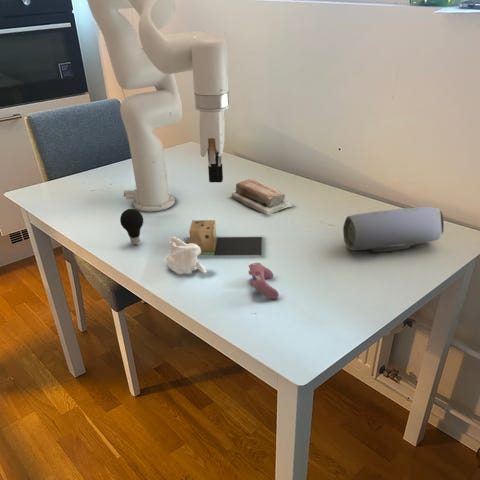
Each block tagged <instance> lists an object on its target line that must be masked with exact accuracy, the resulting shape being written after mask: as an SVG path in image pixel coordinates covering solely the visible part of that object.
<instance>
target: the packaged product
mask: <svg viewBox="0 0 480 480" xmlns="http://www.w3.org/2000/svg"><path fill="white" fill-rule="evenodd" d="M231 198H232V199H234V200H236V201H238V202H240V203H241V204H243V205H245V206H247V207H248V208H251V209H254V210H256V211H257V212H259V213H262V214H264V215H269V214H270V215H271V214H273V213H276V212H279V211H281V210H284V209H287V208H291V207H292V206H293V202H290V201H289V200H286V199H285V198H286V195H285V194H284V193H283V192H280V191H279V190H276V189H274V188H271V187H269V186H268V185H265V184H263V183H261V182H259V181H257V180H255V179H249V178H248V179H245V180H242V181H239V182H237V183H235V192H232V193H231Z"/></svg>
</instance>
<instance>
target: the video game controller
mask: <svg viewBox="0 0 480 480" xmlns="http://www.w3.org/2000/svg"><path fill="white" fill-rule="evenodd" d="M248 268H249V270H248V275H250V276H251V277H252V278H250V281H251V283H252V286H253V288H254V290H255V291H256V292H257V293H259V294H260V295H262V296H263V297H265V298H268V299H271V300H275V299H278V297H279V296H280V295H279V294H280V293H279V292H278V290H277V289H276V288H274V287H272V286H271V285H269V283H267V282H266V279H273V277H274V273H273V271H272V270H271V269H269V268H268V267H266V266H264V265H263V264H262V263H260V262H259V261H256V262H252V263H251V264H248Z"/></svg>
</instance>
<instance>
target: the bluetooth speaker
mask: <svg viewBox="0 0 480 480" xmlns="http://www.w3.org/2000/svg"><path fill="white" fill-rule="evenodd" d="M444 226H445V225H444V215H443V212H442V211H441V209H440V208H439V207H436V206H420V207H405V208H394V209H393V208H392V209H385V210H378V211H370V212H364V213H356V214H352V215H348V216H346V218H345V220H344V223H343V228H342V233H343V241H344V244H345V246H346V247H347V249H348V250H349V251H361V250H362V251H363V250H369V251H371V252H375V253H380V252H381V253H382V252H391V251H398V250H404V249H405V250H406V249H409V248H410V247H411V246H413V245H414V246H415V245H419V244H424V243H430V242H434V241H438V240H439V239H441V238H442V236H443V233H444Z"/></svg>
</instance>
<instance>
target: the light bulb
mask: <svg viewBox="0 0 480 480" xmlns="http://www.w3.org/2000/svg"><path fill="white" fill-rule="evenodd" d="M119 221H120V222H119V223H120V226H121V227H122V229H124V230H125V231H126V232H127V235H128V237H129V239H130V243H131V244H132V245H134V246H138V244H140V243H141V238H140V235H141V229H142V228H143V225H144V216H143V214H142V213H141V212H140V210H138V209H136V208H127V209H125V210H123V212H122V213H121V215H120V218H119Z"/></svg>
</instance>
